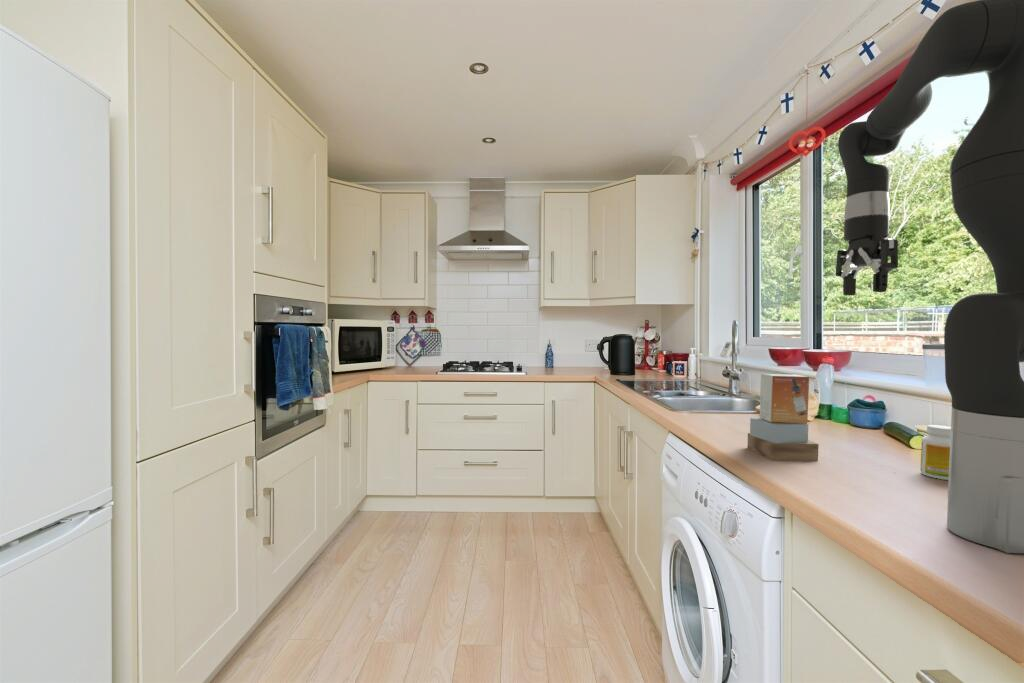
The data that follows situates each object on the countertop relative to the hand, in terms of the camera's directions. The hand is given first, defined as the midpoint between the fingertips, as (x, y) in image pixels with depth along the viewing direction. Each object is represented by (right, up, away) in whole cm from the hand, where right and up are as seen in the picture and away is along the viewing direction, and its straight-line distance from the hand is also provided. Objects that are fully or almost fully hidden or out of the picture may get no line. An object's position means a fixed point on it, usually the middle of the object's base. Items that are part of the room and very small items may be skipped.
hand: (863, 293), depth 96 cm
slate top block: (-15, -32, +6) cm, 36 cm away
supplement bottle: (+8, -37, -8) cm, 38 cm away
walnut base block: (-14, -36, +6) cm, 39 cm away
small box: (-14, -28, +6) cm, 32 cm away
